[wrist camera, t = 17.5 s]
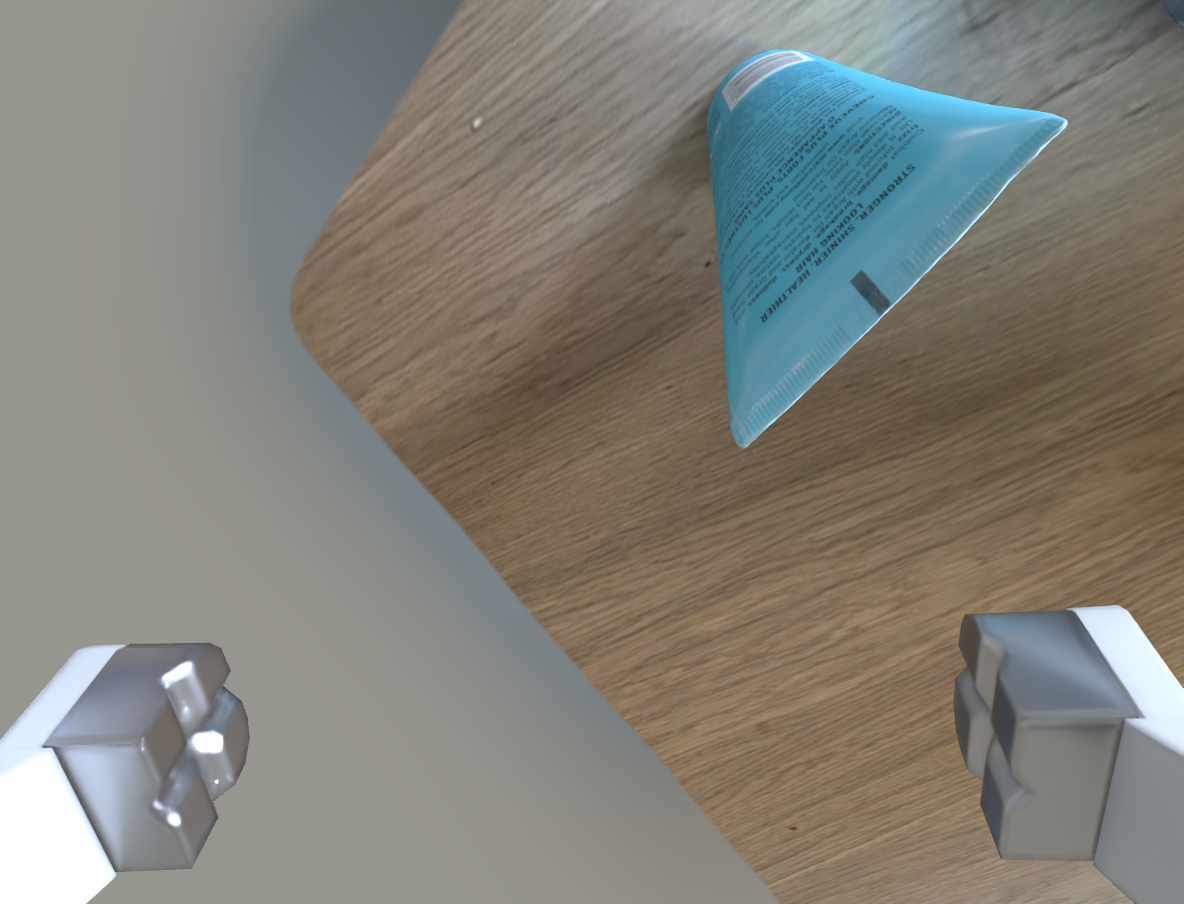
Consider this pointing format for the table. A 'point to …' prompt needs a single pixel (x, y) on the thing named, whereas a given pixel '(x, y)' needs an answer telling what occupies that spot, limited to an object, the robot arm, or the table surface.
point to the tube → (838, 209)
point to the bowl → (1175, 10)
